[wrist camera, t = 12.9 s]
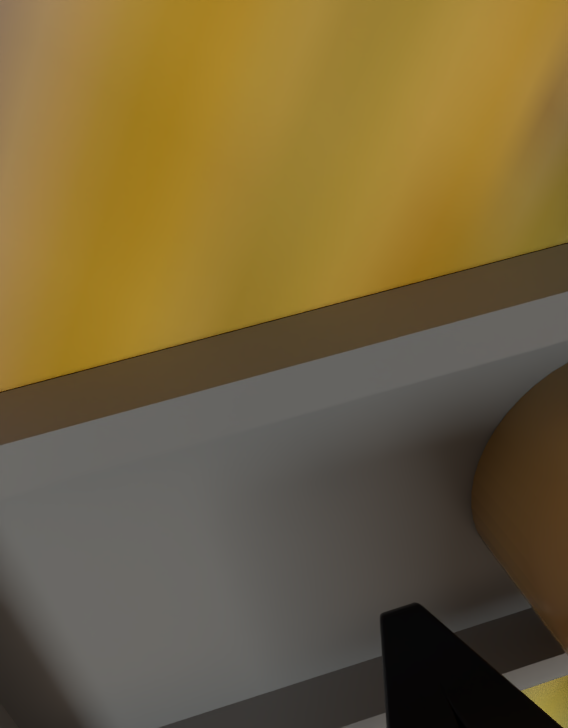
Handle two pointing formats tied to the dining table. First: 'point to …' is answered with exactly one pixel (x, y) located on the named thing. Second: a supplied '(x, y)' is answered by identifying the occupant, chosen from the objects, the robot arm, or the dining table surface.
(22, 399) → the tray
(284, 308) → the dining table surface
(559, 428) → the amber jar
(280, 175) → the dining table surface
